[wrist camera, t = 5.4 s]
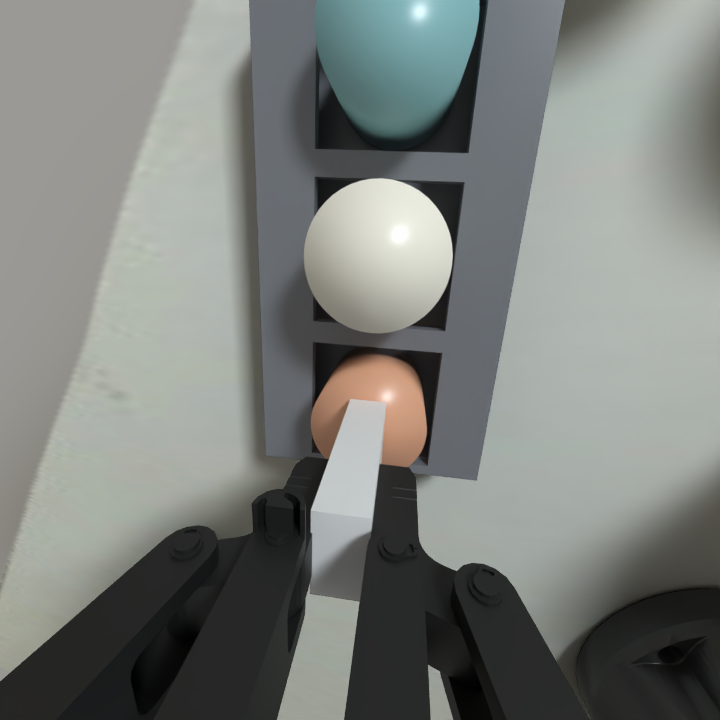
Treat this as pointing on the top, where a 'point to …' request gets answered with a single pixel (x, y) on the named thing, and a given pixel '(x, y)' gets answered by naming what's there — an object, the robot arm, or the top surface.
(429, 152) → the egg display tray
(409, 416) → the terracotta egg
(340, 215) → the cream egg
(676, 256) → the top surface
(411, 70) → the teal egg
